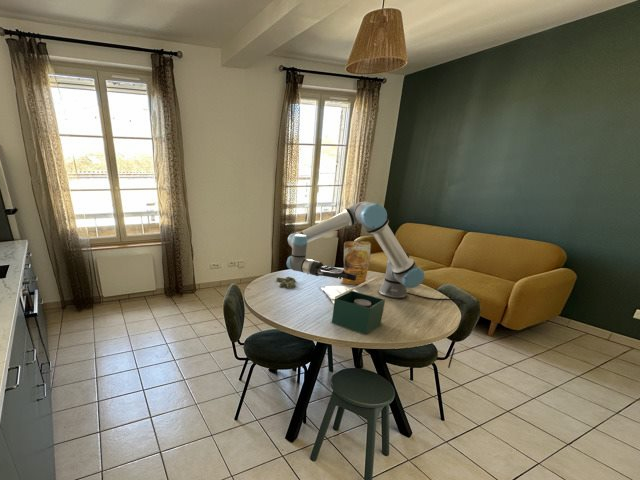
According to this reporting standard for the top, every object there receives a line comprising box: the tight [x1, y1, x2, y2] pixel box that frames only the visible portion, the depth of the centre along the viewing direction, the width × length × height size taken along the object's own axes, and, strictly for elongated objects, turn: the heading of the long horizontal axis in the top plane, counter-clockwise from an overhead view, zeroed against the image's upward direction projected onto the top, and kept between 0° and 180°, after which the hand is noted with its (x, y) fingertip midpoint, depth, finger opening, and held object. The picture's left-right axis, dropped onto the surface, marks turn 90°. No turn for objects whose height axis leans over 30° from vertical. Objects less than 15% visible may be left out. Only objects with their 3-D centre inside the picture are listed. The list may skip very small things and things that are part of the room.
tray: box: [320, 285, 358, 305], centre depth 198 cm, size 20×28×4 cm
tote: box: [331, 291, 386, 335], centre depth 160 cm, size 18×17×13 cm
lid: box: [335, 273, 384, 298], centre depth 156 cm, size 19×17×1 cm
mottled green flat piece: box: [276, 276, 296, 289], centre depth 217 cm, size 18×12×2 cm, turn 2°
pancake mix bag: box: [341, 240, 372, 285], centre depth 215 cm, size 7×19×28 cm, turn 93°
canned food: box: [354, 299, 371, 308], centre depth 159 cm, size 8×8×11 cm
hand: (355, 277), depth 156 cm, fingers closed
